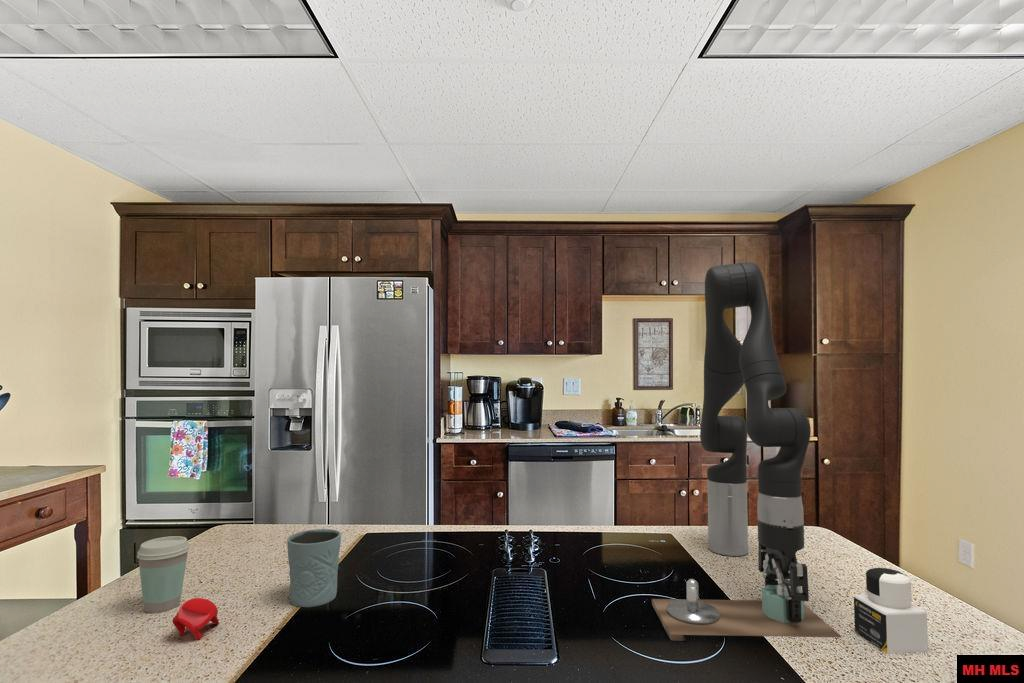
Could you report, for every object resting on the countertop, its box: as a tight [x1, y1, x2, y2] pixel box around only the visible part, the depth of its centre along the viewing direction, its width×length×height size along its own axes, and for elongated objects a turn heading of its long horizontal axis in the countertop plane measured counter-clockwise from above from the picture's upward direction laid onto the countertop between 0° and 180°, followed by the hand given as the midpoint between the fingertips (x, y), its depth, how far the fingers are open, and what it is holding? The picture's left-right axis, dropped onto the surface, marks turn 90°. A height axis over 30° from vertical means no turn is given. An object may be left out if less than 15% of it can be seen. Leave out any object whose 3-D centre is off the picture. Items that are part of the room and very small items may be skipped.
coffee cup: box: [136, 535, 191, 614], centre depth 103 cm, size 8×8×12 cm
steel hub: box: [667, 578, 719, 625], centre depth 98 cm, size 9×9×6 cm
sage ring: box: [761, 585, 805, 623], centre depth 98 cm, size 6×6×4 cm
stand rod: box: [777, 583, 786, 596], centre depth 98 cm, size 2×2×6 cm
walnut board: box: [651, 598, 843, 642], centre depth 97 cm, size 14×28×1 cm, turn 88°
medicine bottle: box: [853, 567, 929, 654], centre depth 88 cm, size 7×7×12 cm
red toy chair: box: [172, 597, 220, 641], centre depth 93 cm, size 8×6×6 cm
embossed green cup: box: [286, 528, 342, 608], centre depth 107 cm, size 10×10×12 cm
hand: (782, 610), depth 97 cm, fingers open, 8 cm apart
